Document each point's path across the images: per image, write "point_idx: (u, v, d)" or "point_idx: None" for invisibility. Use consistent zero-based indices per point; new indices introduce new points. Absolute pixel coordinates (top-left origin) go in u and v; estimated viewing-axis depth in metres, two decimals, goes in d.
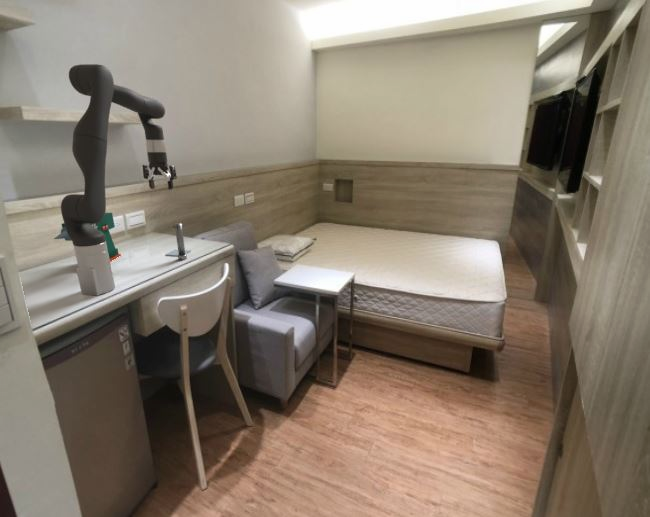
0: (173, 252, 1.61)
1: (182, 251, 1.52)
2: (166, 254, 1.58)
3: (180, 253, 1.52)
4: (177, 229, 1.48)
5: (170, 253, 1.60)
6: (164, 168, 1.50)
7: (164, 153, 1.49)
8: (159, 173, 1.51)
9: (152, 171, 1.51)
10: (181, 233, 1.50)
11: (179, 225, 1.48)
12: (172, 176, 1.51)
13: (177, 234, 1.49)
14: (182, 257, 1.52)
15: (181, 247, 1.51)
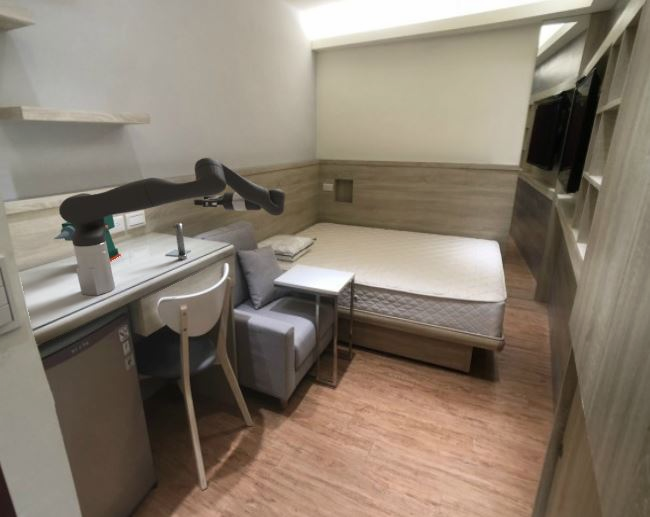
0: (173, 252, 1.61)
1: (182, 251, 1.52)
2: (166, 254, 1.58)
3: (180, 253, 1.52)
4: (177, 229, 1.48)
5: (170, 253, 1.60)
6: (216, 199, 1.40)
7: (231, 202, 1.39)
8: None
9: (218, 196, 1.45)
10: (181, 233, 1.50)
11: (179, 225, 1.48)
12: (205, 200, 1.37)
13: (177, 234, 1.49)
14: (182, 257, 1.52)
15: (181, 247, 1.51)
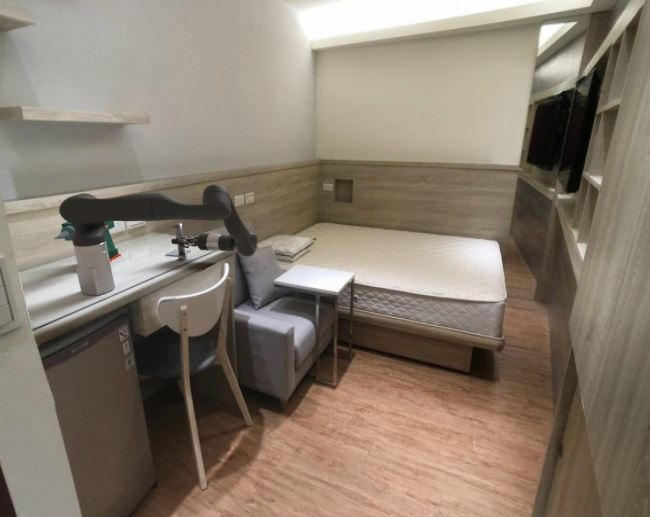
0: (173, 252, 1.61)
1: (182, 251, 1.52)
2: (166, 254, 1.58)
3: (180, 253, 1.52)
4: (177, 229, 1.48)
5: (170, 253, 1.60)
6: (189, 240, 1.47)
7: (205, 243, 1.46)
8: None
9: (193, 236, 1.51)
10: (181, 233, 1.50)
11: (179, 225, 1.48)
12: (181, 240, 1.47)
13: (177, 234, 1.49)
14: (182, 257, 1.52)
15: (181, 247, 1.51)
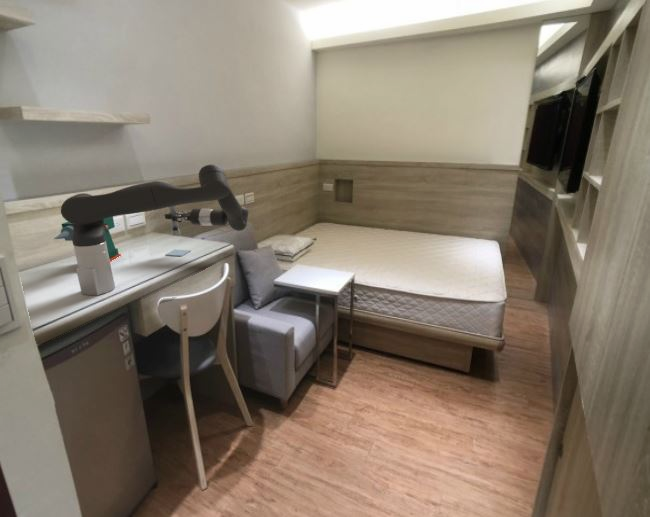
0: (173, 252, 1.61)
1: (175, 226, 1.56)
2: (166, 254, 1.58)
3: (174, 228, 1.56)
4: None
5: (170, 253, 1.60)
6: (182, 215, 1.52)
7: (197, 218, 1.50)
8: None
9: None
10: (174, 208, 1.54)
11: None
12: (174, 215, 1.51)
13: (170, 209, 1.53)
14: (176, 232, 1.56)
15: (174, 222, 1.55)
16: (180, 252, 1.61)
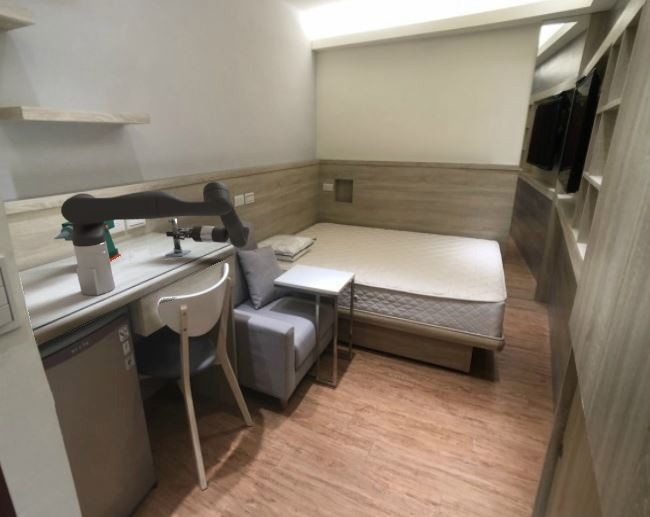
0: (173, 252, 1.61)
1: (177, 245, 1.59)
2: (166, 254, 1.58)
3: (176, 247, 1.59)
4: (172, 224, 1.55)
5: (170, 253, 1.60)
6: (185, 232, 1.54)
7: (199, 235, 1.53)
8: None
9: (188, 228, 1.59)
10: (176, 227, 1.57)
11: (174, 220, 1.55)
12: (175, 233, 1.53)
13: (172, 228, 1.56)
14: (178, 250, 1.59)
15: (176, 241, 1.58)
16: None
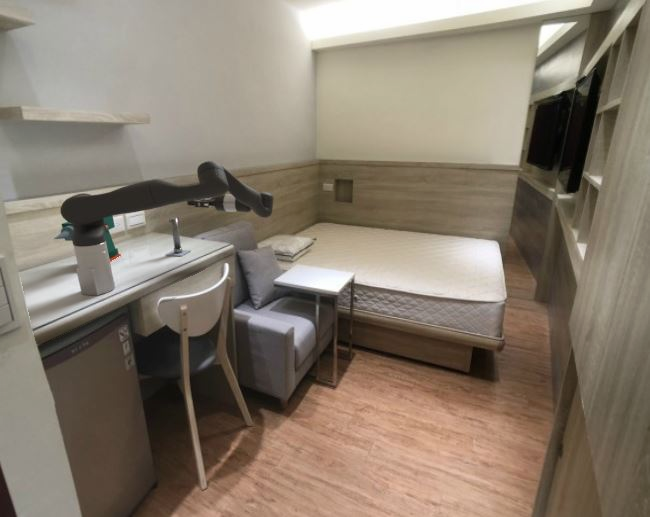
0: (173, 252, 1.61)
1: (177, 245, 1.59)
2: (166, 254, 1.58)
3: (176, 247, 1.59)
4: (173, 224, 1.55)
5: (170, 253, 1.60)
6: (208, 200, 1.48)
7: (222, 203, 1.47)
8: None
9: None
10: (177, 227, 1.57)
11: (175, 220, 1.55)
12: (197, 201, 1.45)
13: (173, 228, 1.56)
14: (178, 250, 1.59)
15: (177, 241, 1.58)
16: None
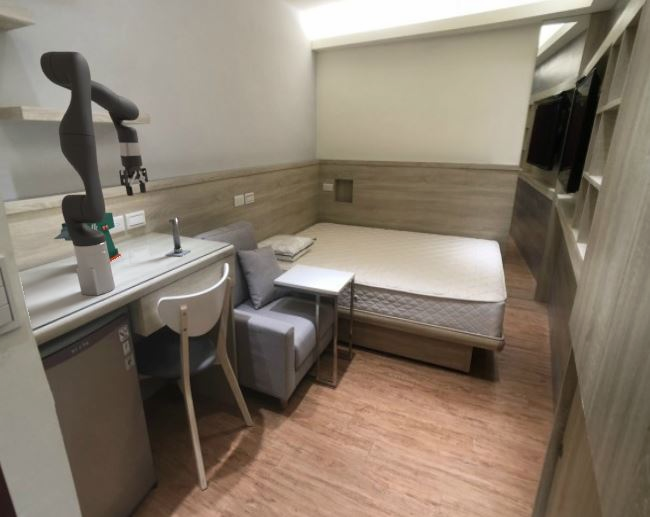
0: (173, 252, 1.61)
1: (177, 245, 1.59)
2: (166, 254, 1.58)
3: (176, 247, 1.59)
4: (173, 224, 1.55)
5: (170, 253, 1.60)
6: None
7: (124, 157, 1.39)
8: None
9: None
10: (177, 227, 1.57)
11: (175, 220, 1.55)
12: None
13: (173, 228, 1.56)
14: (178, 250, 1.59)
15: (177, 241, 1.58)
16: None
